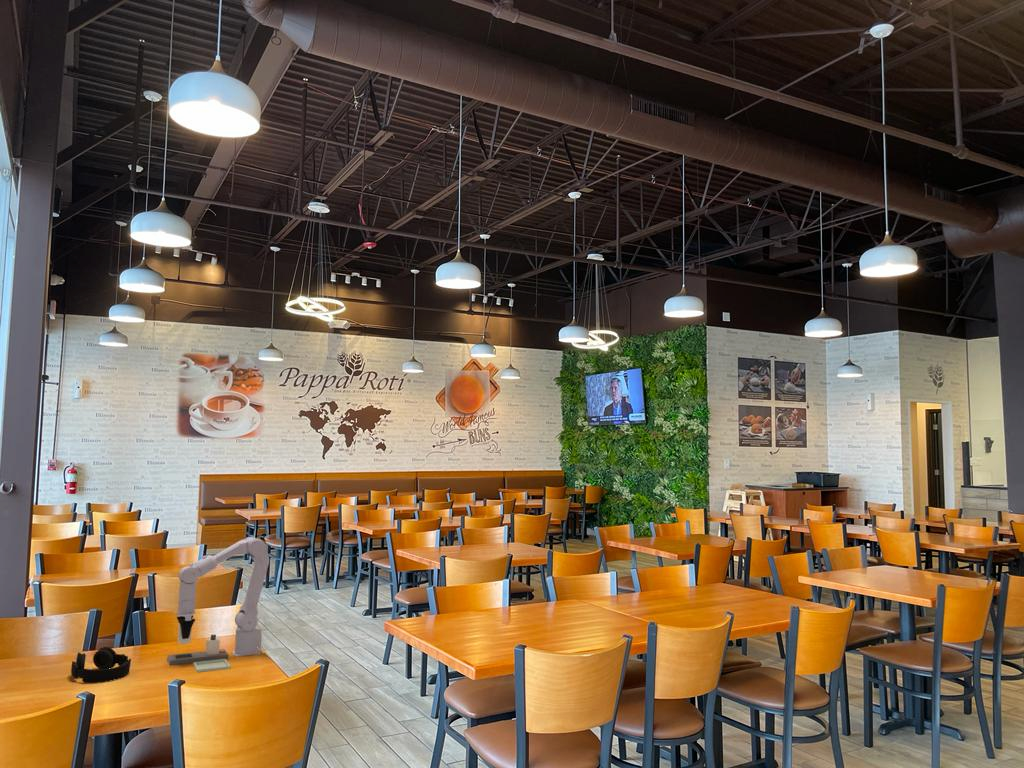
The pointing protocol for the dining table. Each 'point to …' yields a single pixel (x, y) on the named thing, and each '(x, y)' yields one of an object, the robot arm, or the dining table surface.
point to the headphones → (101, 666)
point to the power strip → (200, 654)
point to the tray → (211, 665)
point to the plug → (180, 640)
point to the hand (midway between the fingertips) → (184, 637)
